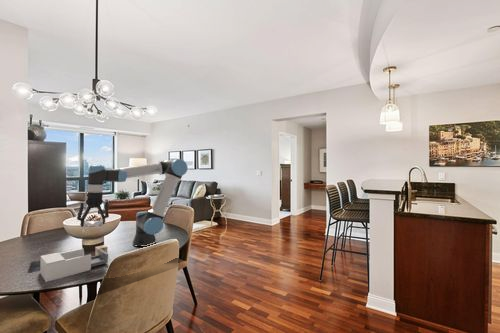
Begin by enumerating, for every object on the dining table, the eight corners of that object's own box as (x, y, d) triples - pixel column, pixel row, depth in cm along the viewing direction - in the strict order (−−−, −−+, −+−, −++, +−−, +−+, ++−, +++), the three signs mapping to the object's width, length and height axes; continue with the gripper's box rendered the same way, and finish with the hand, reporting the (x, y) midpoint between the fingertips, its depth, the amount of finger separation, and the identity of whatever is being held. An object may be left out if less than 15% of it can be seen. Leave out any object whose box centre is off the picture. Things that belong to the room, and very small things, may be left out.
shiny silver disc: (98, 223, 140) (98, 220, 140) (102, 225, 134) (103, 222, 134) (82, 224, 134) (83, 221, 134) (86, 227, 128) (86, 224, 128)
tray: (100, 257, 137) (100, 248, 137) (107, 262, 129) (108, 253, 129) (64, 266, 123) (64, 256, 123) (70, 272, 116) (70, 262, 116)
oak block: (104, 252, 146) (104, 244, 146) (107, 254, 143) (107, 246, 143) (95, 255, 142) (95, 246, 142) (98, 257, 139) (98, 248, 139)
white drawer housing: (82, 262, 131) (83, 247, 131) (90, 269, 122) (91, 253, 122) (40, 272, 117) (40, 255, 117) (45, 282, 108) (46, 263, 108)
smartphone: (27, 272, 116) (30, 262, 128) (27, 274, 116) (30, 263, 128) (46, 268, 121) (48, 259, 133) (46, 270, 121) (48, 260, 133)
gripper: (112, 190, 145) (110, 227, 144) (71, 191, 129) (68, 232, 129) (116, 191, 140) (114, 229, 139) (74, 192, 124) (71, 235, 124)
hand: (92, 231), depth 134 cm, fingers closed on shiny silver disc, 8 cm apart
